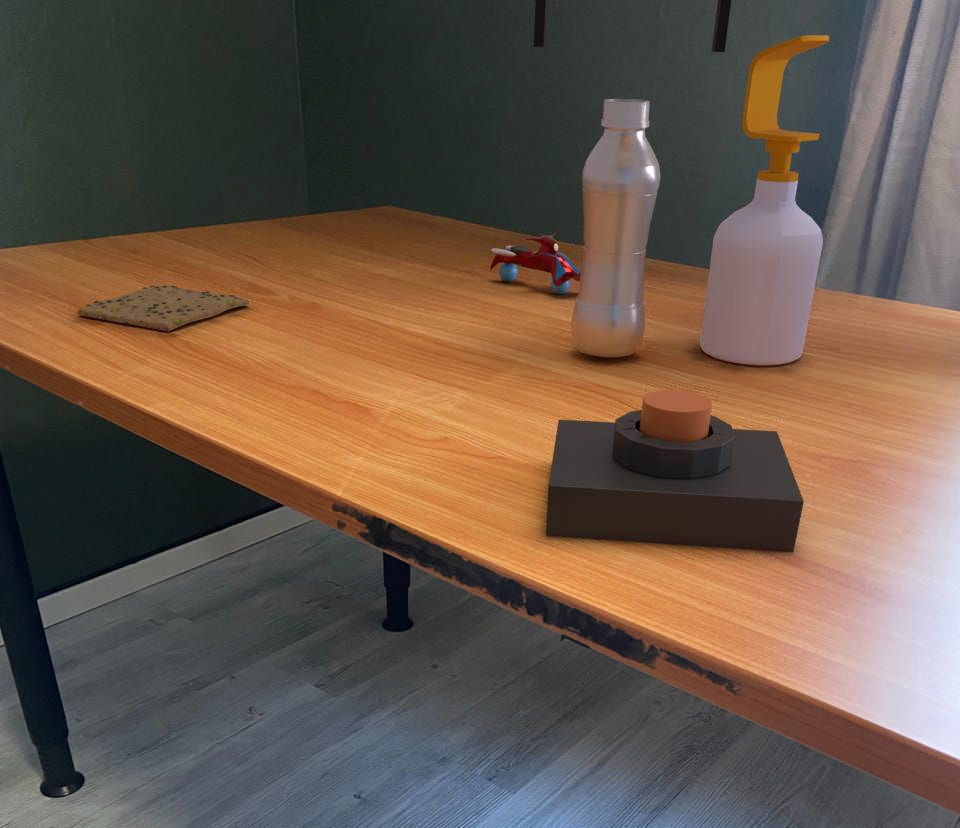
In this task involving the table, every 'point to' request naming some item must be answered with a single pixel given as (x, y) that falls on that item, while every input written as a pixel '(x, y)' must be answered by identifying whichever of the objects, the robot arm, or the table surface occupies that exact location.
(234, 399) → the table surface
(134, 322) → the tan flat square slab
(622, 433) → the button base
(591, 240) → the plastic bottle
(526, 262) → the hoverbike
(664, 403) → the button
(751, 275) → the soap bottle
